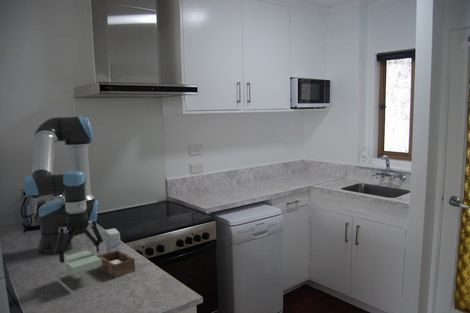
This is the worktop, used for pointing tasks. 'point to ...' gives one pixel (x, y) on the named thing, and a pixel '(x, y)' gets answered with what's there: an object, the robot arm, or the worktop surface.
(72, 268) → the lid
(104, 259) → the box
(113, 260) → the soap bar
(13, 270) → the worktop surface
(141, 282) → the worktop surface
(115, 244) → the ink box
